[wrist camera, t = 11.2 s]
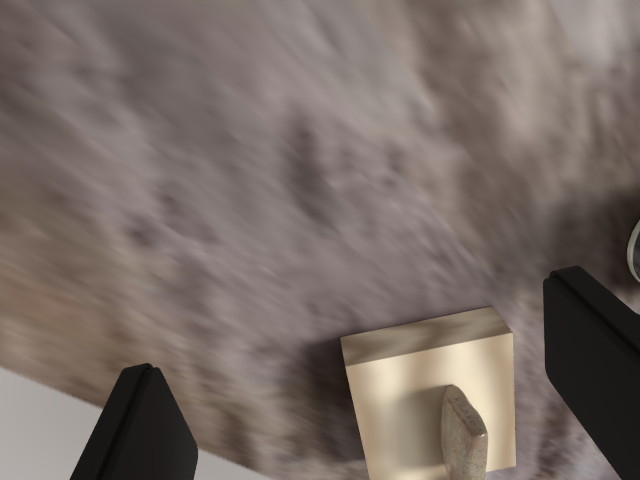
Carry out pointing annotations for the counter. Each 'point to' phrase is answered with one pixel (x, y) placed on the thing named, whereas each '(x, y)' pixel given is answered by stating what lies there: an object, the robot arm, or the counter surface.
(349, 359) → the birch block
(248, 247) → the counter surface
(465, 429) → the stone tablet
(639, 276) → the coffee can
